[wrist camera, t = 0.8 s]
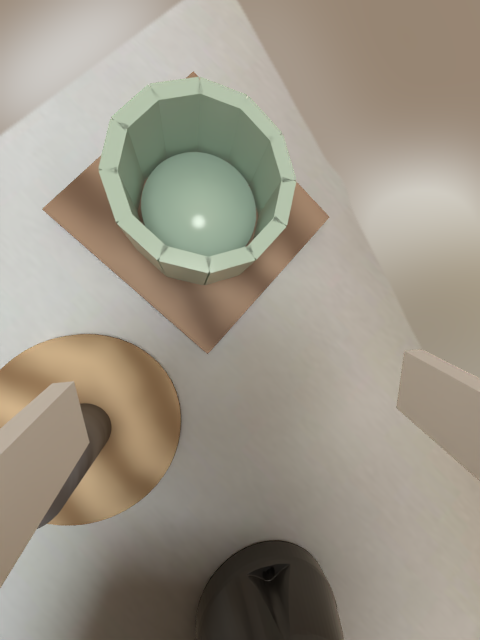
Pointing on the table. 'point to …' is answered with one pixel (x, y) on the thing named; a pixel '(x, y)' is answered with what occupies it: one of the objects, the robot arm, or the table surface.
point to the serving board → (168, 293)
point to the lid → (102, 420)
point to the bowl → (197, 178)
